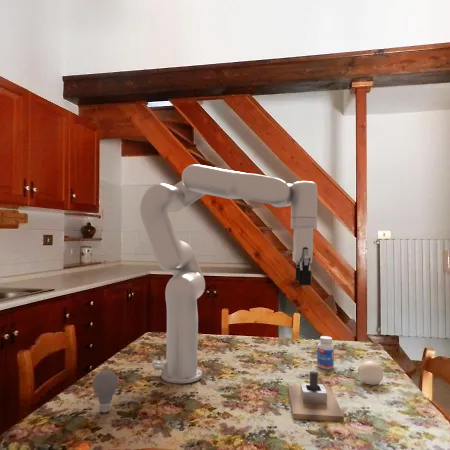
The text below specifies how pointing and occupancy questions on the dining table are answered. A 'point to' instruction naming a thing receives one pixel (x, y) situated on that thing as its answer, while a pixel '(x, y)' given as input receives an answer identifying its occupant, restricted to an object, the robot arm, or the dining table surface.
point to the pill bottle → (325, 353)
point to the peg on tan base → (313, 410)
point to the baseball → (370, 372)
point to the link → (313, 395)
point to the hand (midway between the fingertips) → (302, 282)
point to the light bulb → (105, 388)
